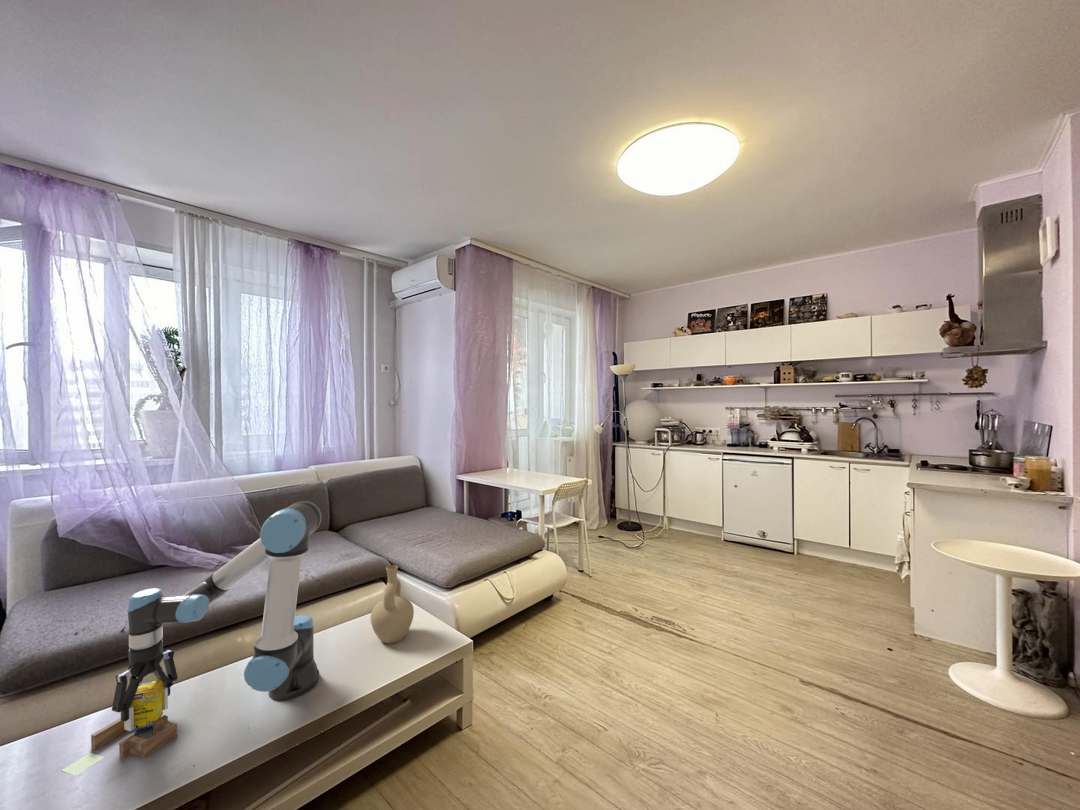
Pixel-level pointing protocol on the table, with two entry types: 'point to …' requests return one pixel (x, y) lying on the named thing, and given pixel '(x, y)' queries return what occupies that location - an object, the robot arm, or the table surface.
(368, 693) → the table surface
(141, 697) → the supplement box
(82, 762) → the pad
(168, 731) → the tunnel rails
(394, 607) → the vase
